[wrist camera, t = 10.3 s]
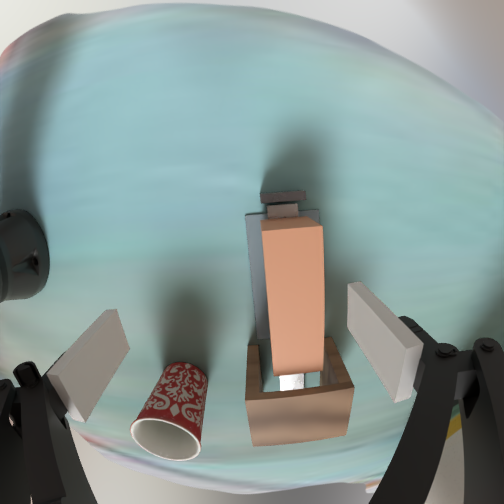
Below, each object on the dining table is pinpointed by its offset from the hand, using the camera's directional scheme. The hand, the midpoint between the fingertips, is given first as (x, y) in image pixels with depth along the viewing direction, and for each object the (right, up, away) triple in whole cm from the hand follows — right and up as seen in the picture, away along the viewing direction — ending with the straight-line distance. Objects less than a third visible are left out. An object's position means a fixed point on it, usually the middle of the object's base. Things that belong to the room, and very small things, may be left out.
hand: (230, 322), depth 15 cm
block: (+6, 0, +20) cm, 21 cm away
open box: (+7, -13, +24) cm, 29 cm away
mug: (-10, -18, +26) cm, 33 cm away
